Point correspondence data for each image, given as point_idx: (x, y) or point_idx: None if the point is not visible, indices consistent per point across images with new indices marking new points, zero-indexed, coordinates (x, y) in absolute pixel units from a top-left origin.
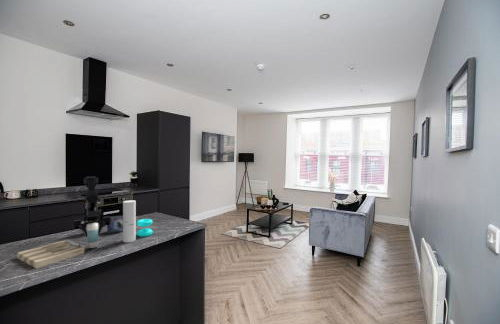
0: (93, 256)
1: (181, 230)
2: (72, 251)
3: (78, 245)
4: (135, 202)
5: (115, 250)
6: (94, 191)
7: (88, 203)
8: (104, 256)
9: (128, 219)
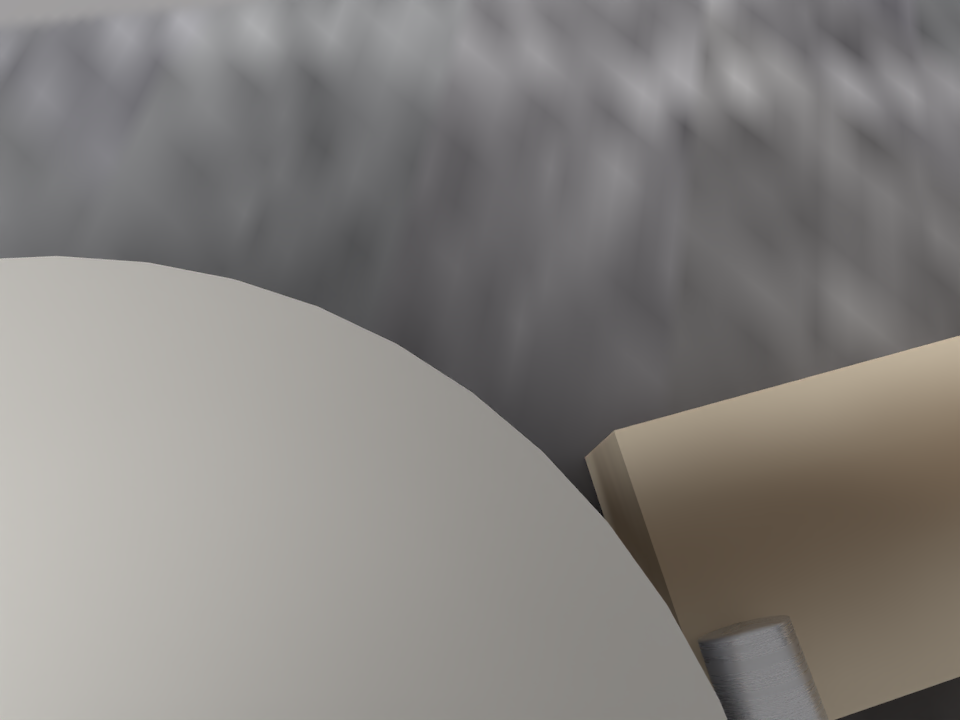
0: (476, 144)
1: None
2: (870, 361)
3: (749, 627)
4: None
5: (51, 159)
6: None
7: None
8: (327, 17)
9: None
